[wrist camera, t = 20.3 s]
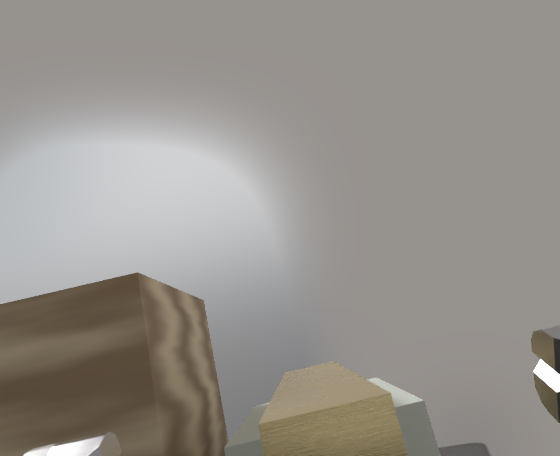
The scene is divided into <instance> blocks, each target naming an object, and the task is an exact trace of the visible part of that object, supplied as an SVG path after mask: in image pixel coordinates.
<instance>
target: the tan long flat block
mask: <svg viewBox="0 0 560 456" xmlns="http://www.w3.org/2000/svg"><path fill="white" fill-rule="evenodd" d="M258 427H259V432H260V437H261V442H262V447H263V453H264V456H408V454H407V450H406V447H405V443H404V439H403V436H402V432H401V429H400V425H399V421H398V418H397V414H396V411H395V407H394V403H393V400H392V396H391V393H390V392H388V391H386V390H384V389H383V388H381V387H379V386H377V385H375V384H374V383H372V382H370V381H368V380H367V379H365V378H363V377H361V376H359V375H358V374H356V373H354V372H352V371H350V370H349V369H347V368H345V367H343V366H341V365H340V364H338V363H336V362H334V361H333V362H329V363H325V364H320V365H316V366H312V367H308V368H303V369H299V370H295V371H291V372H287V373H285V374H284V376H283V377H282V379H281V381H280V383H279V385H278V387H277V389H276V391H275V393H274V395H273V397H272V399H271V401H270V402H269V404H268V406H267V408H266V410H265V412H264V414H263V416H262V418H261V420H260V422H259V423H258Z"/></svg>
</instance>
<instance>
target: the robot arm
mask: <svg viewBox="0 0 560 456" xmlns="http://www.w3.org/2000/svg"><path fill="white" fill-rule="evenodd" d="M531 345H532V352H533V353H534V354H535V355H536V356H537V357H538V358H539V359H540V361H539V363H538V365H537V367H536V369H535V370H534V380H535V387H536V390H537V392H538V395H539V397H540V399H541V402H542V403H543V405H544V406H545V408H546V409H547V410H548V412H549V413H550V414H551V415H552V416H553V417H554V418H555V419H556V420H557V421H558V422H559V423H560V325H557V326H553V327H549V328H545V329H541V330H537V331H534V332H533V335H532V338H531ZM121 450H122V448H121V446H120V444H119V441H118V439H117V437H116V435H115V434H113V433H111V432H106V433H102V434H97V435H92V436H88V437H83V438H78V439H74V440H69V441H65V442H60V443H58V444H51V445H47V446H43V447H39V448H34V449H32V450H30V451H28V452H26V453H25V454H24V455H23V456H119V455H120V453H121Z"/></svg>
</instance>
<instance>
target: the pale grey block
mask: <svg viewBox="0 0 560 456" xmlns="http://www.w3.org/2000/svg"><path fill="white" fill-rule="evenodd" d="M368 381H370V382H372V383H374V384H375V385H377V386H379V387H381V388H383V389H384V390H386V391H388V392H390V393H391V396H392V400H393V403H394V407H395V411H396V414H397V418H398V421H399V425H400V429H401V432H402V436H403V439H404V443H405V447H406V450H407V454H408V456H440V453H439V449H438V446H437V442H436V440H435V436H434V432H433V429H432V426H431V422H430V419H429V415H428V412H427V409H426V405H425V402H424V400H422V399H420V398H418V397H416V396H414V395H412V394H410V393H407V392H405V391H403V390H401V389H399V388H397V387H394V386H393V385H391V384H388V383H387V382H384V381H382V380H380V379H378V378H372V379H368ZM268 404H269V403H266V404H261V405H257V406H255V407H254V408H253V409H252V411H251V412H250V414H249V415H248V416H247V418H246V419H245V420H244V421H243V423H242V424H241V426H240V427H239V428H238V430H237V431H236V432H235V434H234V435H233V436H232V438H231V439H230V440H229V442H228V443H227V444H226V446H225V447H224V451H225V456H264V453H263V447H262V442H261V437H260V432H259V427H258V423H259V422H260V420H261V418H262V416H263V414H264V412H265V410H266V408H267V406H268Z"/></svg>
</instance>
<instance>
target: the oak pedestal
mask: <svg viewBox="0 0 560 456" xmlns="http://www.w3.org/2000/svg"><path fill="white" fill-rule="evenodd" d="M106 432H111V433H113V434H115V435H116V437H117V439H118V441H119V444H120V446H121V448H122V450H121V453H120V455H119V456H225V451H224V447H225V446H226V444H227V443H228V436H227V431H226V425H225V419H224V414H223V408H222V403H221V396H220V391H219V385H218V379H217V374H216V368H215V362H214V357H213V351H212V345H211V339H210V334H209V328H208V322H207V317H206V311H205V305H204V300H201V299H199V298H197V297H194V296H192V295H190V294H187V293H185V292H183V291H180V290H178V289H175V288H173V287H171V286H168V285H166V284H163V283H161V282H159V281H157V280H154V279H152V278H149V277H147V276H145V275H142V274H140V273H134V274H129V275H126V276H121V277H116V278H112V279H108V280H103V281H99V282H95V283H91V284H86V285H82V286H78V287H74V288H69V289H65V290H60V291H56V292H52V293H47V294H43V295H39V296H35V297H31V298H26V299H22V300H17V301H13V302H9V303H4V304H0V456H23V455H24V454H25V453H26V452H28V451H30V450H32V449H34V448H39V447H43V446H47V445H51V444H58V443H60V442H65V441H69V440H74V439H78V438H83V437H88V436H92V435H97V434H102V433H106Z"/></svg>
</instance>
